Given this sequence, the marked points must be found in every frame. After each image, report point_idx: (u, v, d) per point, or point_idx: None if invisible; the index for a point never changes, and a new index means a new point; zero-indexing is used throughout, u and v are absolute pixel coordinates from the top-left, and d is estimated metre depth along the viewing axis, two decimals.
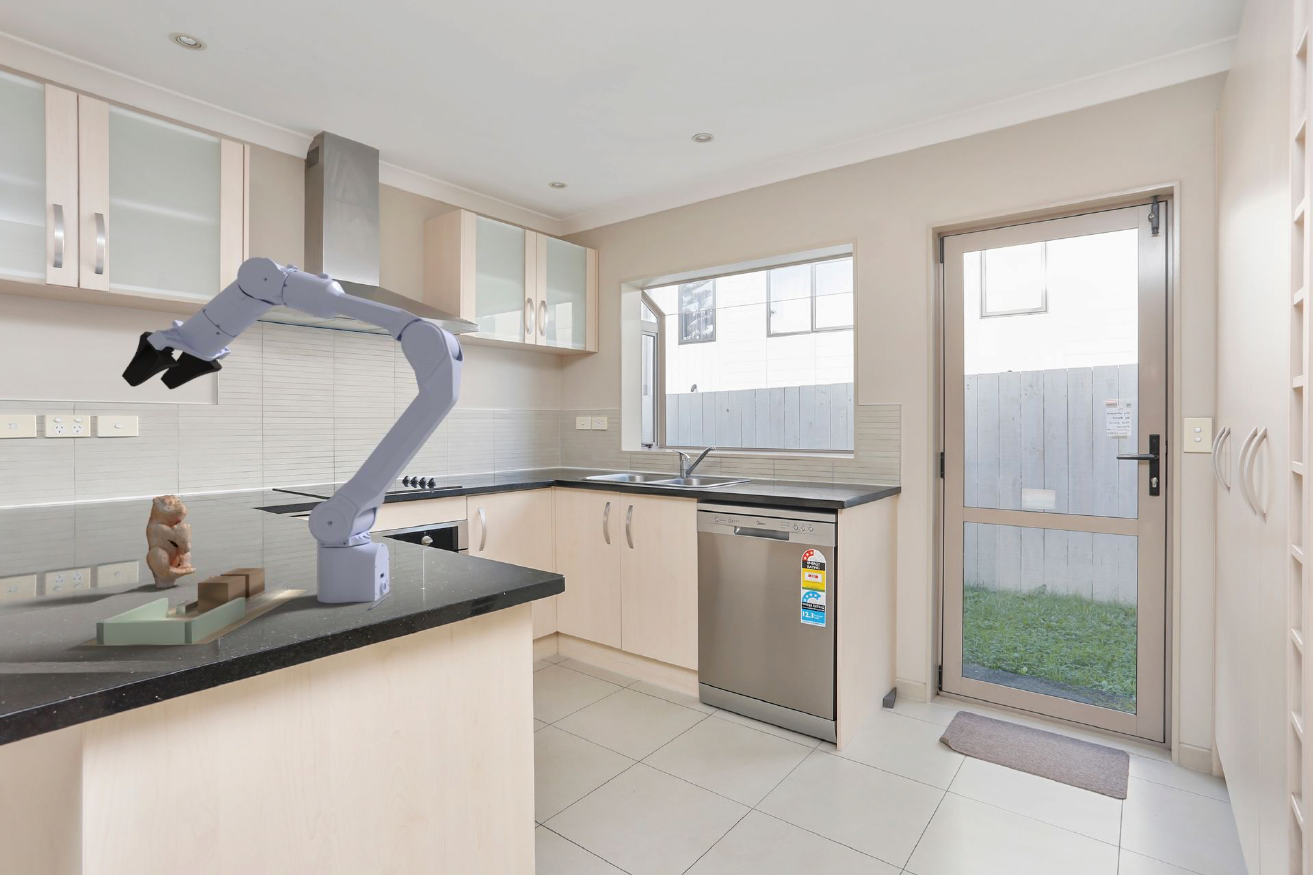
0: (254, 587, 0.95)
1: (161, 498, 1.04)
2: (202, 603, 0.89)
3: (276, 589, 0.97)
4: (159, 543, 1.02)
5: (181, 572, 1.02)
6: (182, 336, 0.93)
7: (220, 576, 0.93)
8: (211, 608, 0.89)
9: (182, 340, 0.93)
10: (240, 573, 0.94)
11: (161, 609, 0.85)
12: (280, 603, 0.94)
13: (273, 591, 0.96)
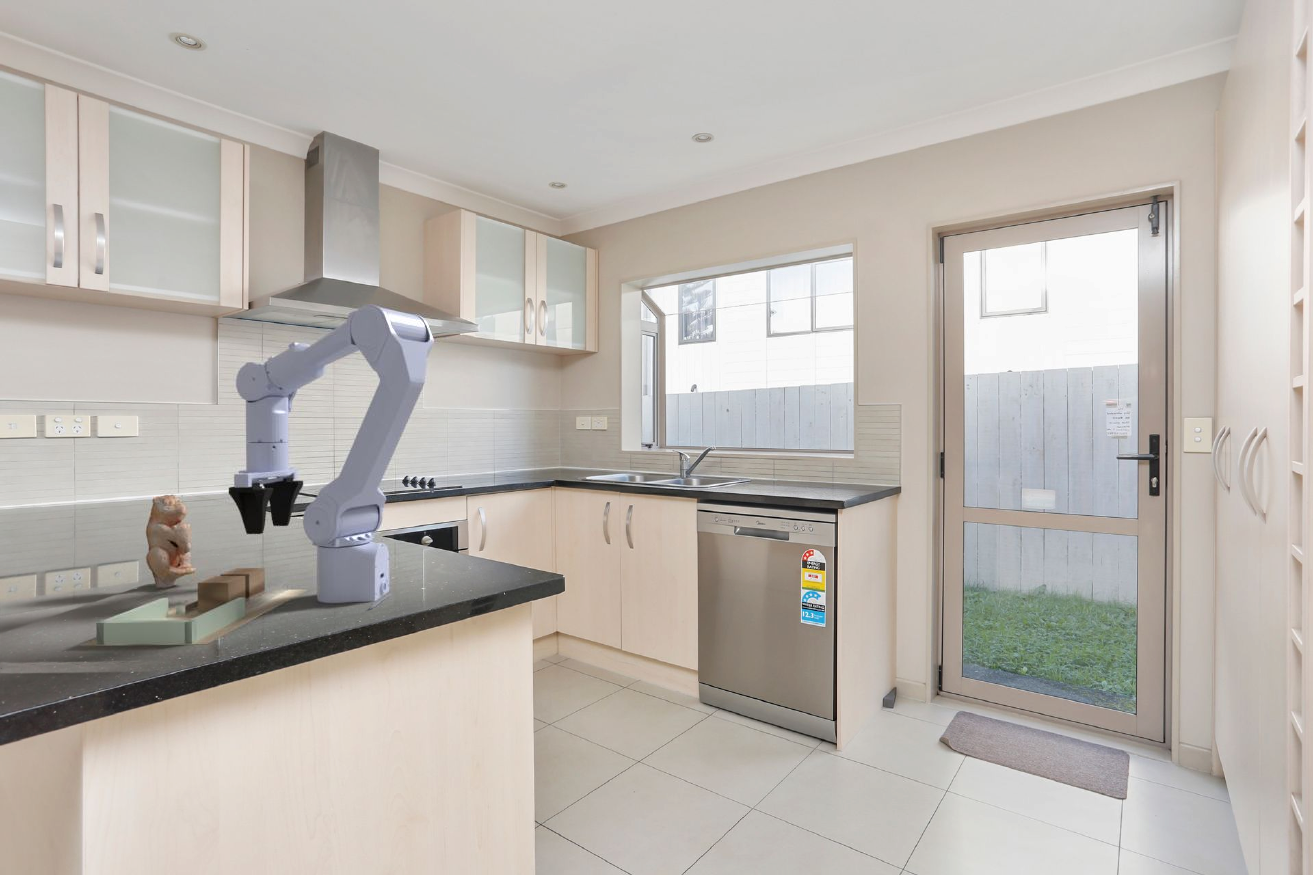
0: (254, 587, 0.95)
1: (161, 498, 1.04)
2: (202, 603, 0.89)
3: (276, 589, 0.97)
4: (159, 543, 1.02)
5: (181, 572, 1.02)
6: (254, 471, 1.00)
7: (220, 576, 0.93)
8: (211, 608, 0.89)
9: (257, 473, 0.99)
10: (240, 573, 0.94)
11: (161, 609, 0.85)
12: (280, 603, 0.94)
13: (273, 591, 0.96)
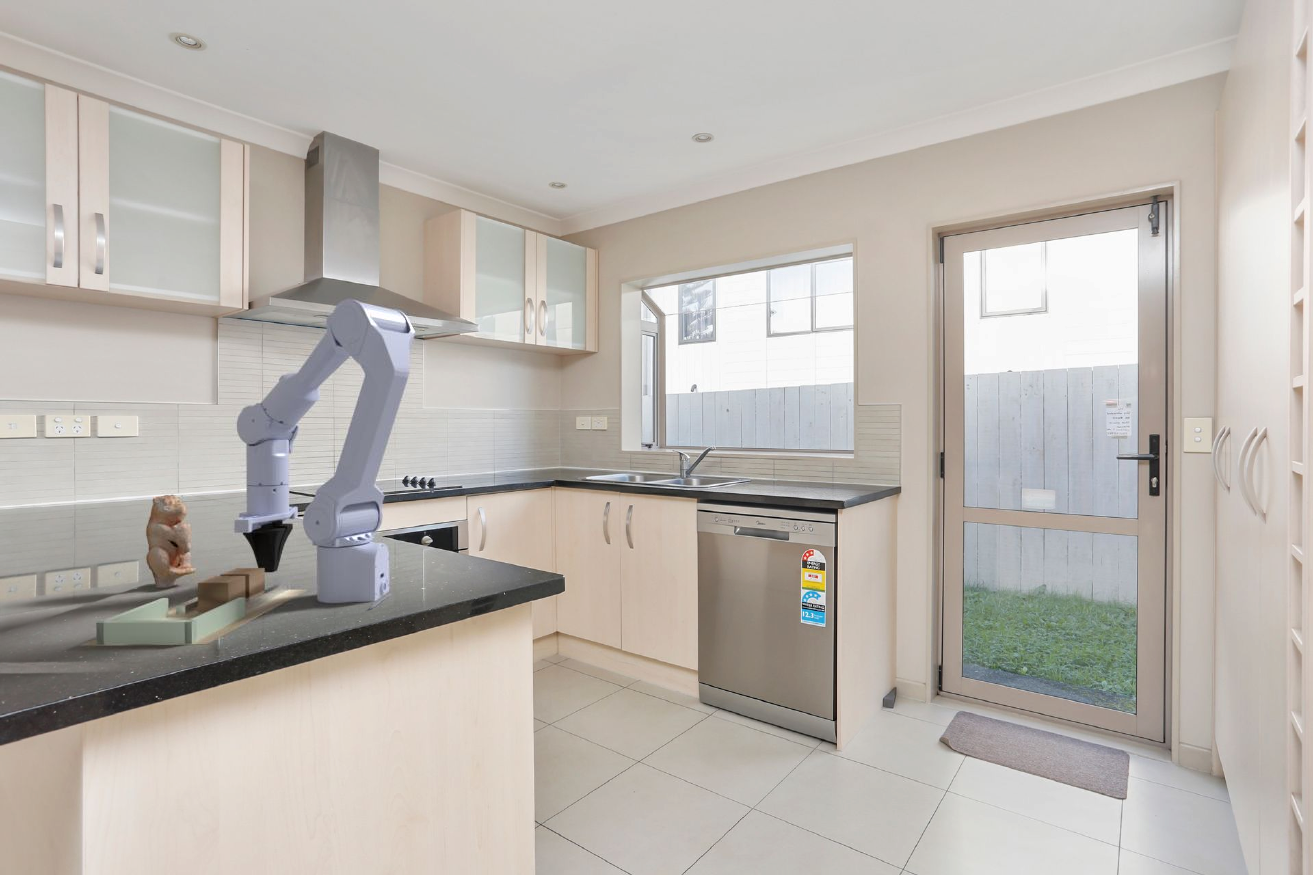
0: (254, 587, 0.95)
1: (161, 498, 1.04)
2: (202, 603, 0.89)
3: (276, 589, 0.97)
4: (159, 543, 1.02)
5: (181, 572, 1.02)
6: (255, 514, 1.00)
7: (220, 576, 0.93)
8: (211, 608, 0.89)
9: (257, 516, 1.00)
10: (240, 573, 0.94)
11: (161, 609, 0.85)
12: (280, 603, 0.94)
13: (273, 591, 0.96)
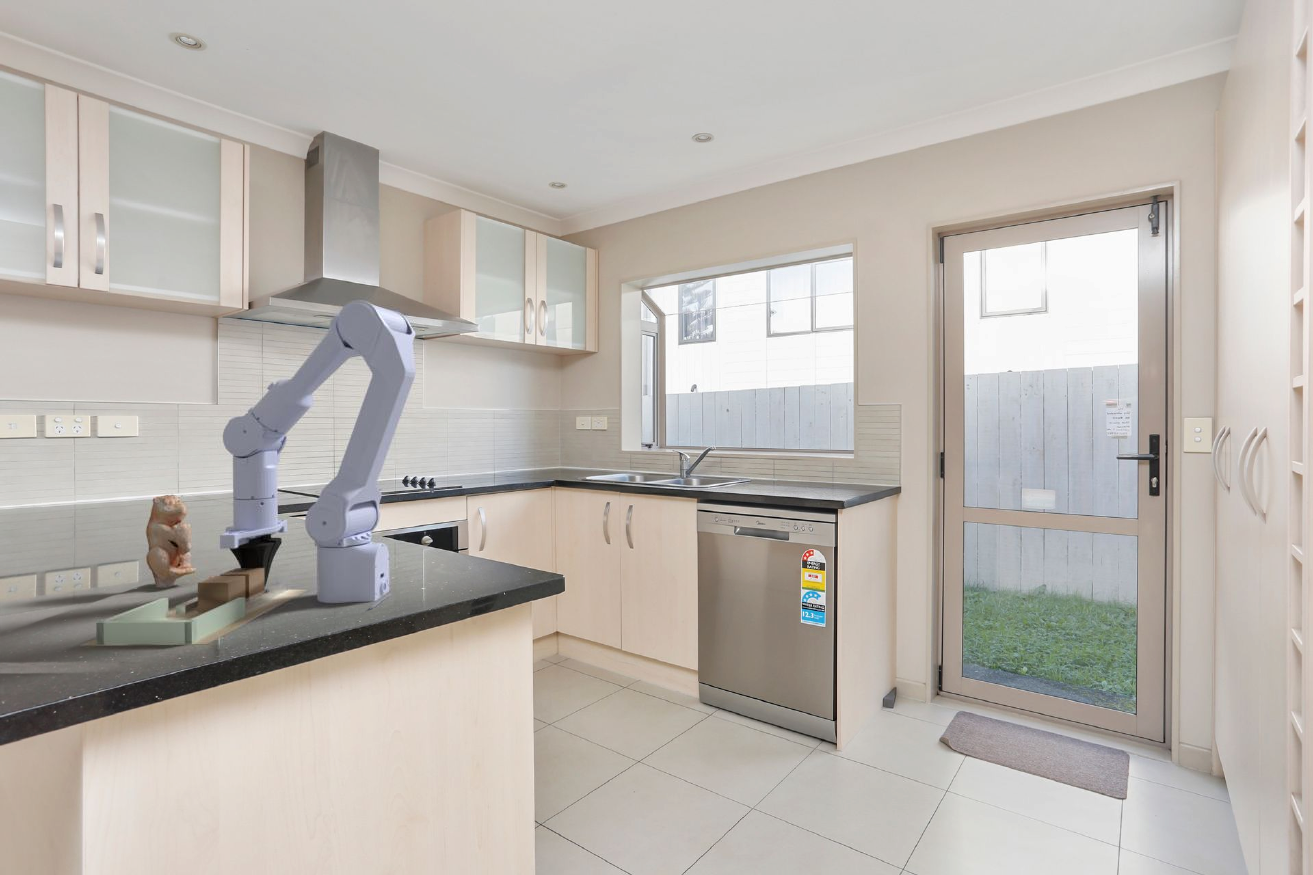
0: (254, 587, 0.95)
1: (161, 498, 1.04)
2: (202, 603, 0.89)
3: (276, 589, 0.97)
4: (159, 543, 1.02)
5: (181, 572, 1.02)
6: (242, 529, 0.96)
7: (220, 576, 0.93)
8: (211, 608, 0.89)
9: (244, 531, 0.96)
10: (240, 573, 0.94)
11: (161, 609, 0.85)
12: (280, 603, 0.94)
13: (273, 591, 0.96)
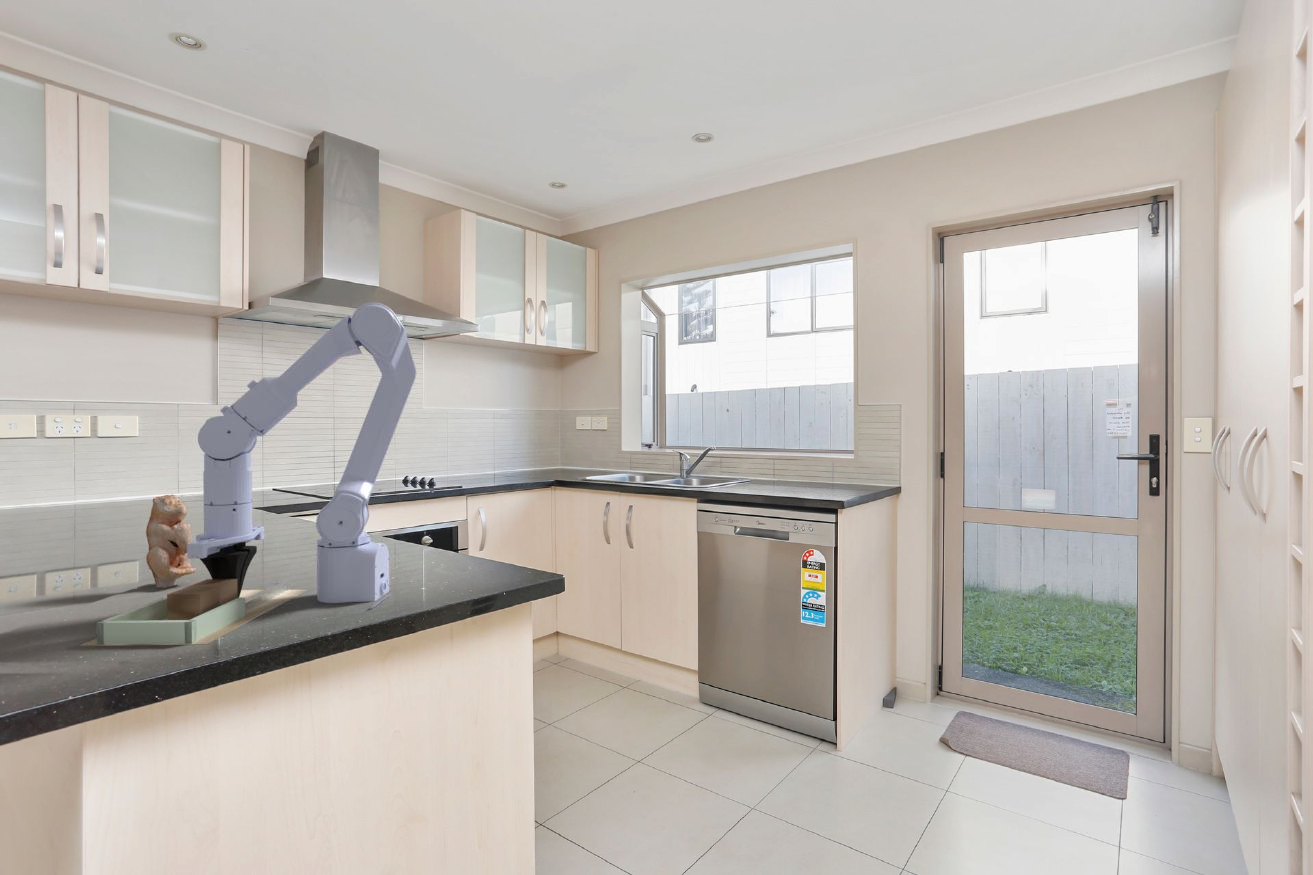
0: (225, 600, 0.88)
1: (161, 498, 1.04)
2: (172, 616, 0.83)
3: (276, 589, 0.97)
4: (159, 543, 1.02)
5: (181, 572, 1.02)
6: (212, 537, 0.90)
7: (192, 586, 0.87)
8: None
9: (215, 539, 0.89)
10: (210, 585, 0.88)
11: (161, 609, 0.85)
12: (280, 603, 0.94)
13: (273, 591, 0.96)
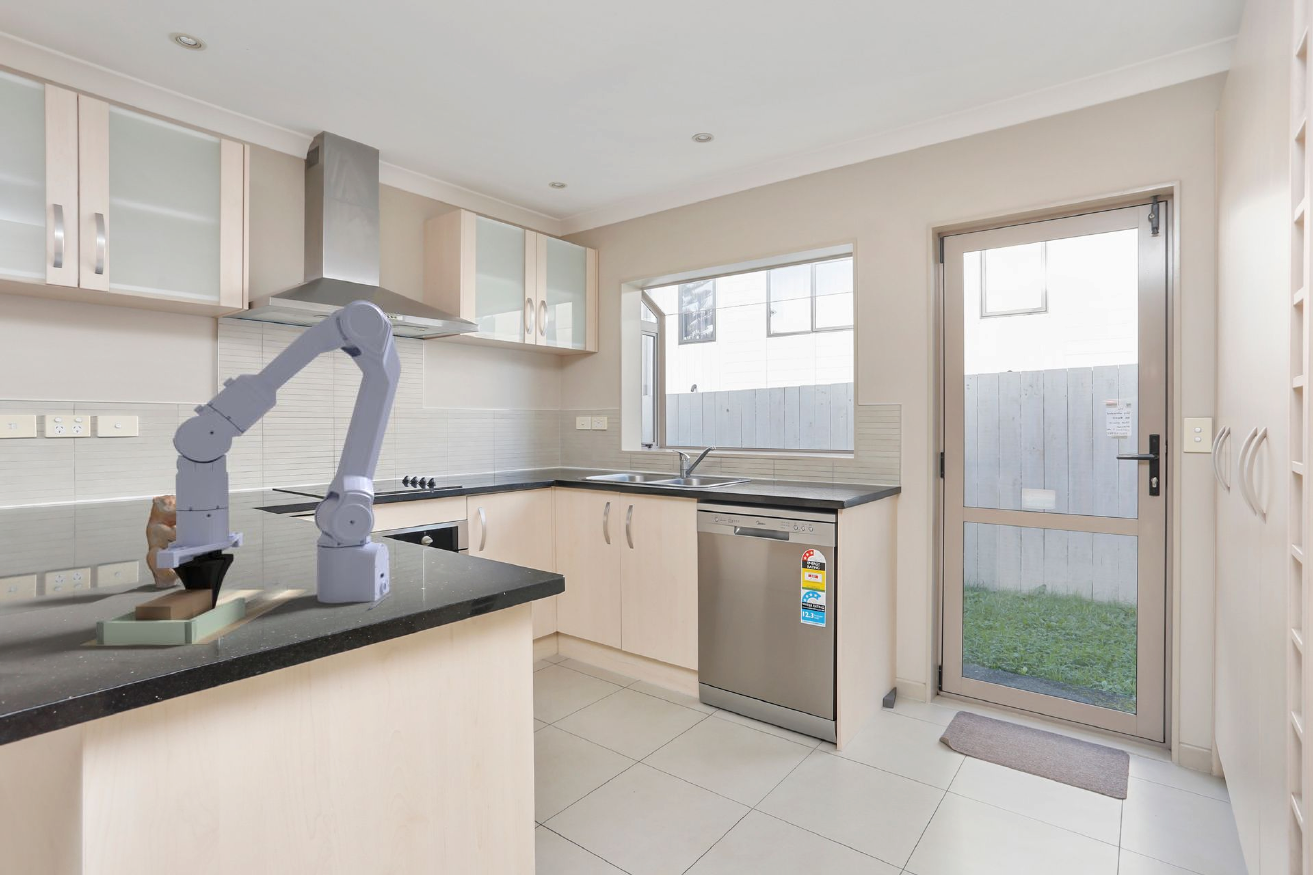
0: (198, 612, 0.83)
1: (161, 498, 1.04)
2: None
3: (276, 589, 0.97)
4: (159, 543, 1.02)
5: None
6: (185, 545, 0.84)
7: (164, 598, 0.81)
8: None
9: (188, 547, 0.84)
10: (182, 596, 0.82)
11: None
12: (280, 603, 0.94)
13: (273, 591, 0.96)
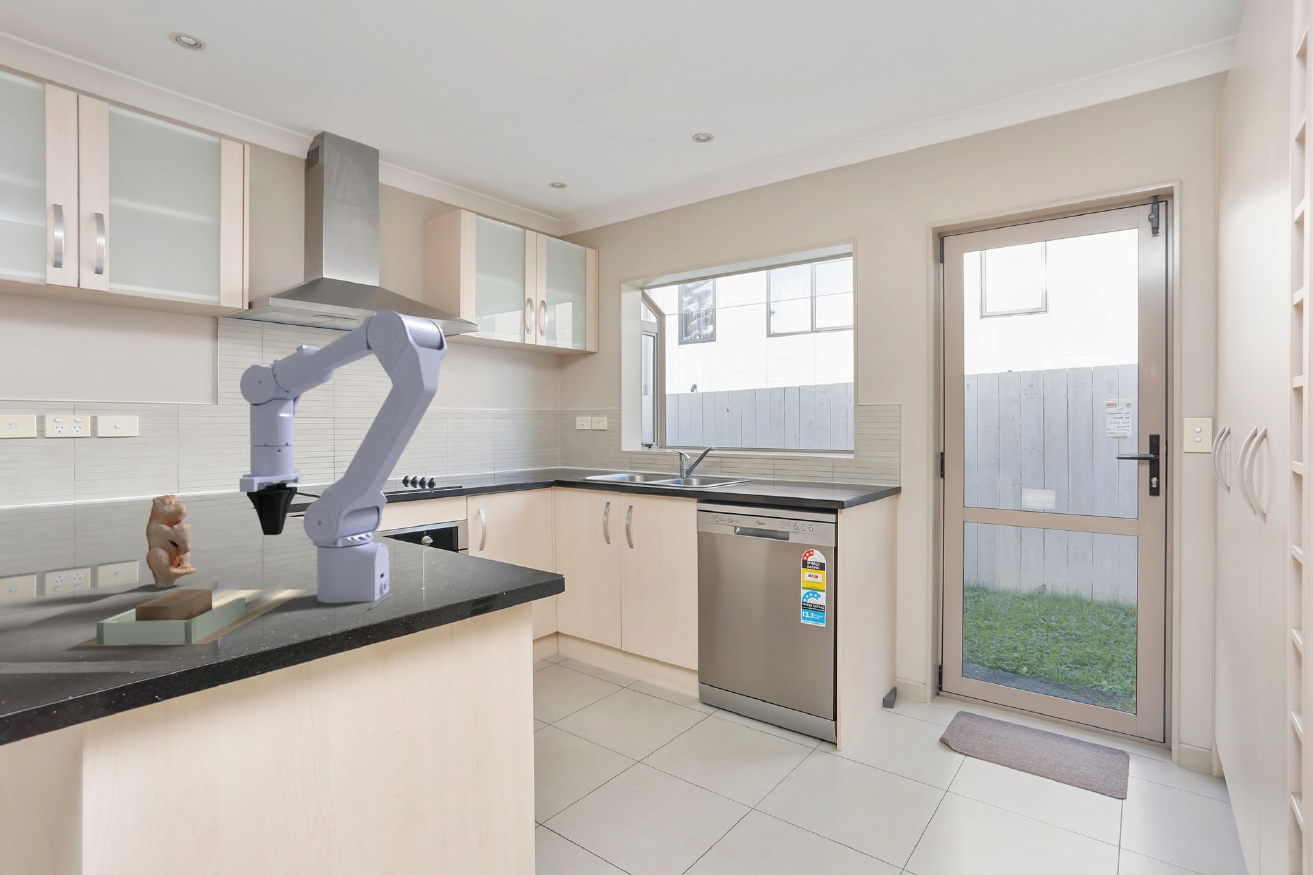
0: (198, 612, 0.83)
1: (161, 498, 1.04)
2: None
3: (276, 589, 0.97)
4: (159, 543, 1.02)
5: (181, 572, 1.02)
6: (259, 475, 0.98)
7: (164, 598, 0.81)
8: None
9: (262, 477, 0.98)
10: (181, 596, 0.82)
11: None
12: (280, 603, 0.94)
13: (273, 591, 0.96)
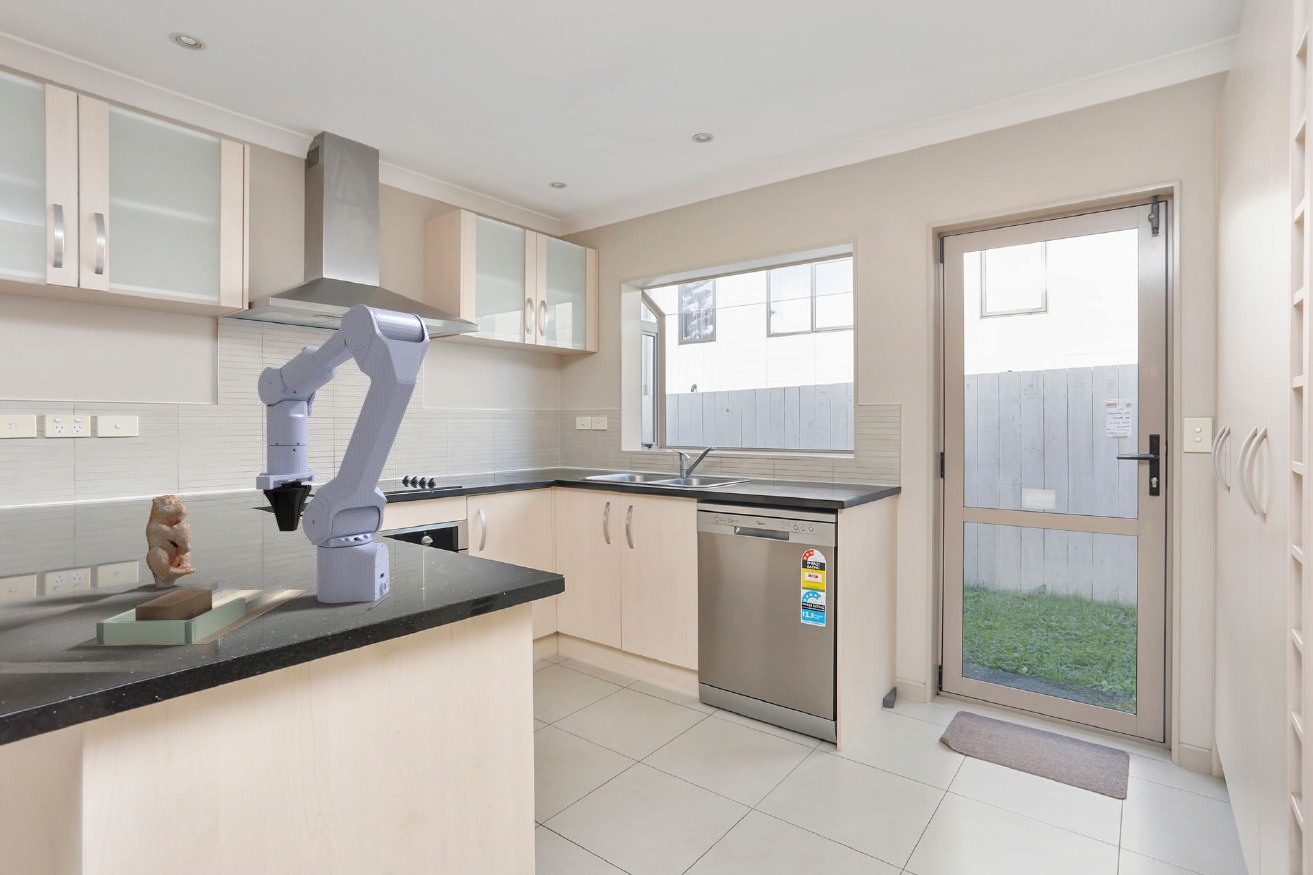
0: (198, 612, 0.83)
1: (161, 498, 1.04)
2: None
3: (276, 589, 0.97)
4: (159, 543, 1.02)
5: (181, 572, 1.02)
6: (275, 473, 1.02)
7: (164, 598, 0.81)
8: None
9: (278, 475, 1.01)
10: (181, 596, 0.82)
11: None
12: (280, 603, 0.94)
13: (273, 591, 0.96)
